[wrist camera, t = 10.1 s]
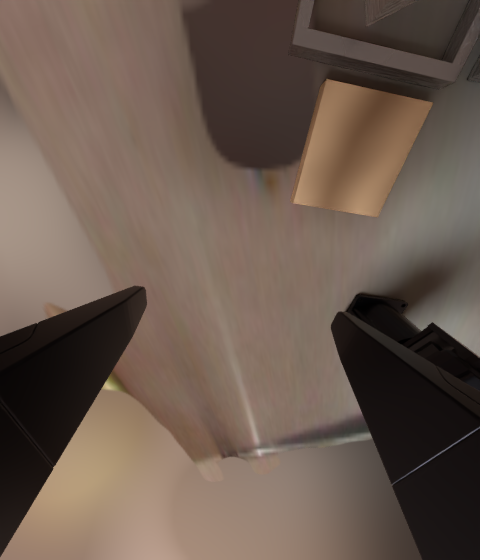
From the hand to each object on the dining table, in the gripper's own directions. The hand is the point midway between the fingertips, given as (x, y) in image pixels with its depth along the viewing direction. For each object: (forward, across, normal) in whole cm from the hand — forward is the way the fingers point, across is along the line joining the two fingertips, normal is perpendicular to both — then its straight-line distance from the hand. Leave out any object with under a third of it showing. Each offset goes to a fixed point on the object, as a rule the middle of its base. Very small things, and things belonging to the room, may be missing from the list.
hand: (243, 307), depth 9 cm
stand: (+12, -8, -8) cm, 16 cm away
